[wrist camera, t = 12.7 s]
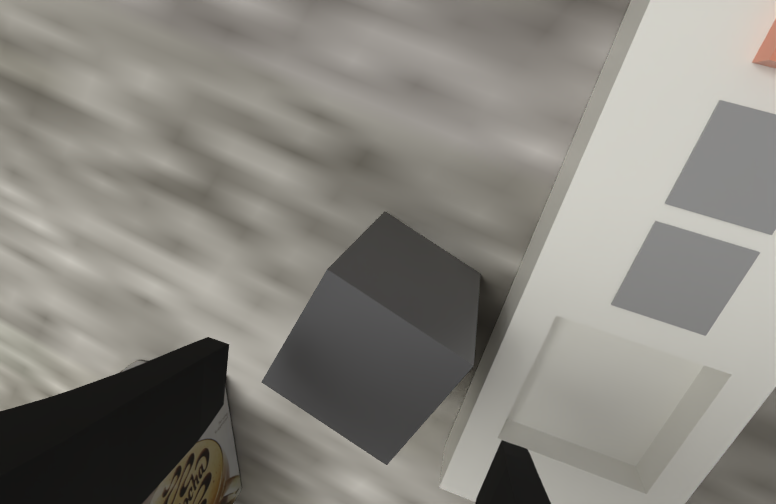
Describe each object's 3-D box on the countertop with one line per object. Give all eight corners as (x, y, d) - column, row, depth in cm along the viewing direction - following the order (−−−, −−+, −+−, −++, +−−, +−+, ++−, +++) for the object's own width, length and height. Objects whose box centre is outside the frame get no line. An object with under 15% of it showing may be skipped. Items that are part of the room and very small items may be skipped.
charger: (480, 273, 18) (473, 365, 12) (420, 350, 20) (386, 465, 14) (385, 211, 18) (327, 269, 12) (334, 294, 20) (261, 382, 14)
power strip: (960, 24, 12) (1118, -3, 9) (619, 513, 21) (642, 585, 18) (650, -46, 14) (697, -91, 10) (444, 445, 22) (436, 502, 19)
